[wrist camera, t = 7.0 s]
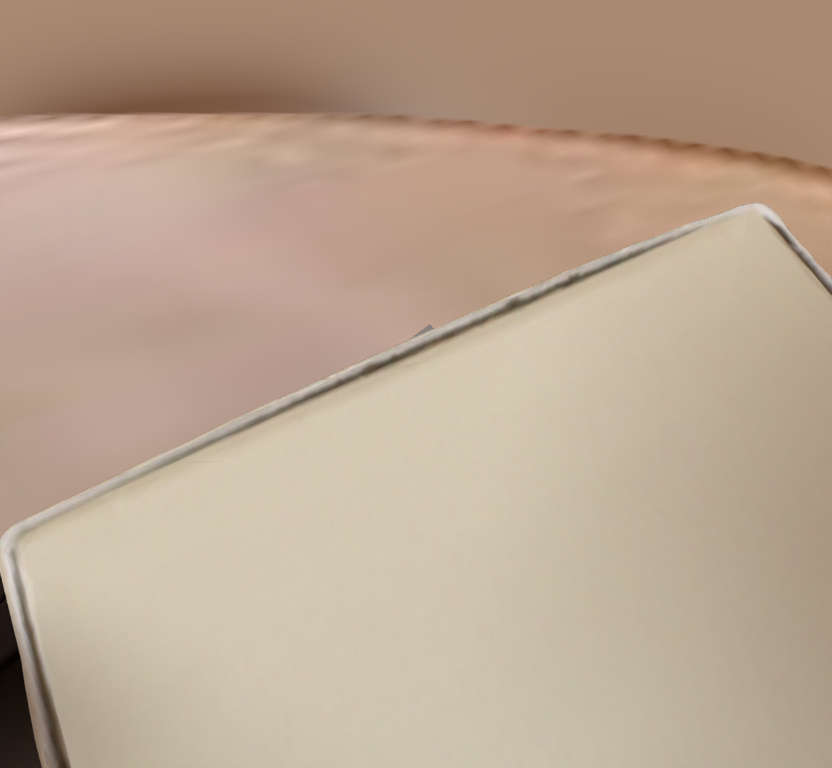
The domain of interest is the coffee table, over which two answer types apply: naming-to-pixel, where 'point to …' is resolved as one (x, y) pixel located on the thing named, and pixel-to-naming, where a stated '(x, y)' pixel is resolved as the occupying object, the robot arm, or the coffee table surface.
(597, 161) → the coffee table surface
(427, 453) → the skincare box
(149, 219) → the coffee table surface
